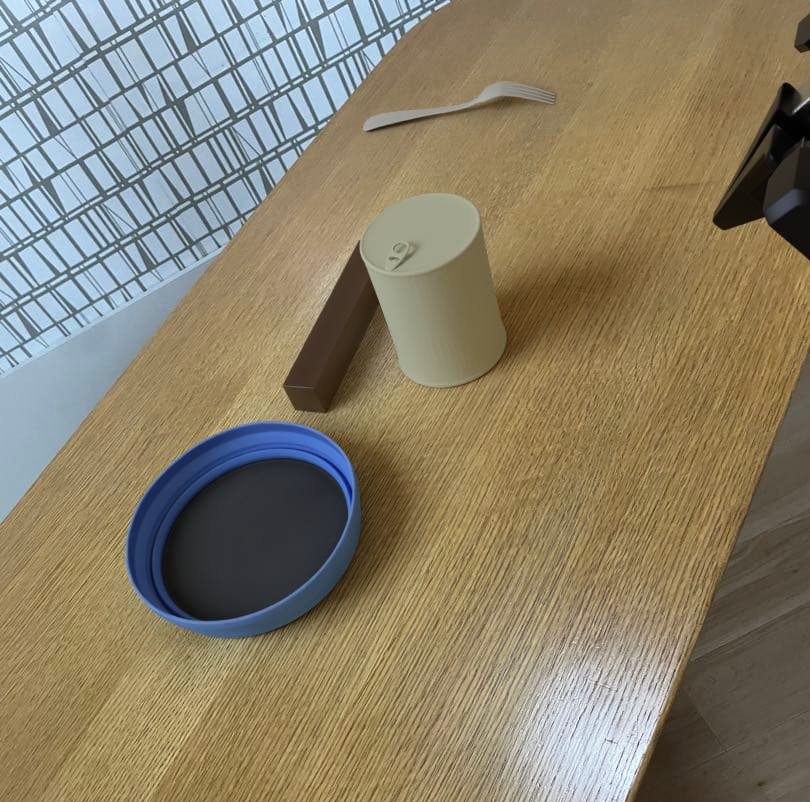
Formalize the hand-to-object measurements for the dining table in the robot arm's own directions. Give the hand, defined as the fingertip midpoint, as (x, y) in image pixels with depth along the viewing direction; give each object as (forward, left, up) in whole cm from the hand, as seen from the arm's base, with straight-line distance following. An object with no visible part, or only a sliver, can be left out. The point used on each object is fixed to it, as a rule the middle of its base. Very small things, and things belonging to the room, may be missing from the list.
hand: (717, 222), depth 53 cm
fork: (-22, -39, -12) cm, 47 cm away
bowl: (+30, -21, -12) cm, 39 cm away
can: (+7, -19, -12) cm, 24 cm away
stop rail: (+9, -29, -12) cm, 33 cm away
